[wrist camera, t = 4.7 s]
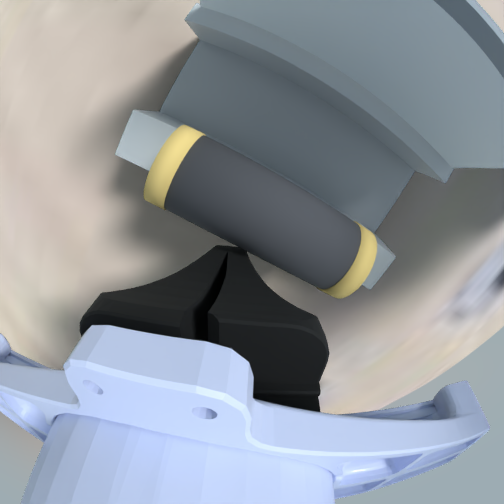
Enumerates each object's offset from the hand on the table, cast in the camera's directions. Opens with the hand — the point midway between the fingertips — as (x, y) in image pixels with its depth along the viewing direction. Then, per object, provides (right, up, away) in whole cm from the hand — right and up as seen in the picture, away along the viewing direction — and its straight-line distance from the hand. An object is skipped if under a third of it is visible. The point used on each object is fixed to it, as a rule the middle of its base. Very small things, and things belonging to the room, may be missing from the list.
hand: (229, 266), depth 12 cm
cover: (+5, +7, -7) cm, 11 cm away
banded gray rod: (+1, +2, -2) cm, 3 cm away
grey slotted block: (+3, +7, +1) cm, 8 cm away
